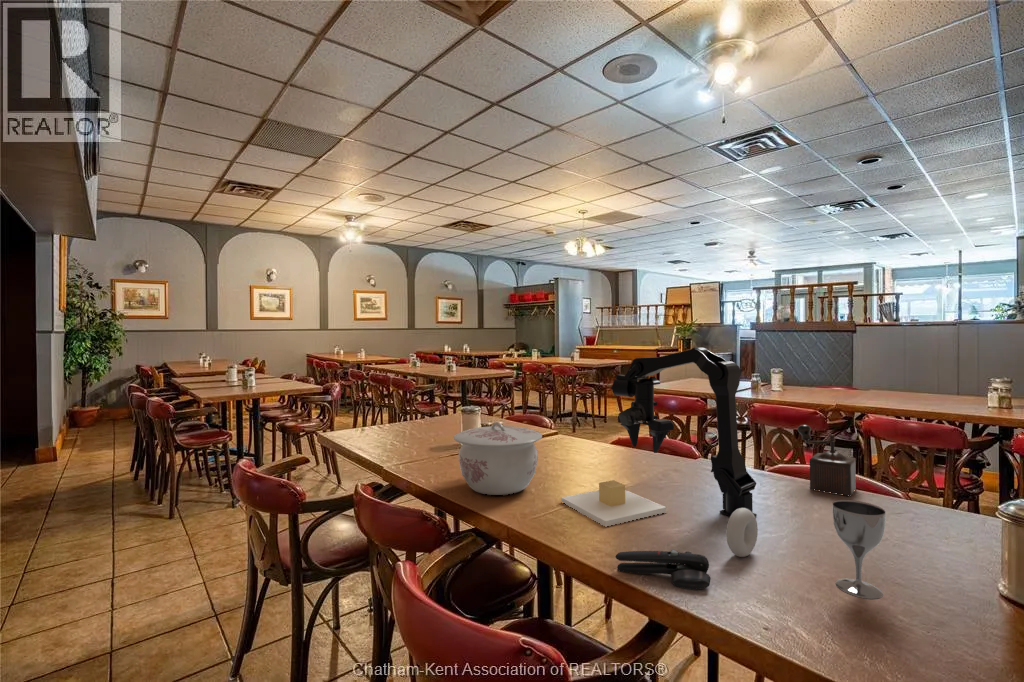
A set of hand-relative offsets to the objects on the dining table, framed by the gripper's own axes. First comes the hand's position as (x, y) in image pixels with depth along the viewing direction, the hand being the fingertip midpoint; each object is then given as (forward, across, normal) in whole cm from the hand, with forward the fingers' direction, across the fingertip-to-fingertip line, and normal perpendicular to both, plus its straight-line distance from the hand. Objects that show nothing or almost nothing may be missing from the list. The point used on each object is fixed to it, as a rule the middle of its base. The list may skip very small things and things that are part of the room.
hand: (644, 449), depth 148 cm
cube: (+10, +8, -19) cm, 23 cm away
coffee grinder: (+12, +25, +48) cm, 56 cm away
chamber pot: (+12, -22, -39) cm, 46 cm away
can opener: (+12, +43, -34) cm, 56 cm away
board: (+12, +8, -19) cm, 24 cm away
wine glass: (+12, +63, -6) cm, 64 cm away
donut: (+12, +44, -13) cm, 47 cm away
